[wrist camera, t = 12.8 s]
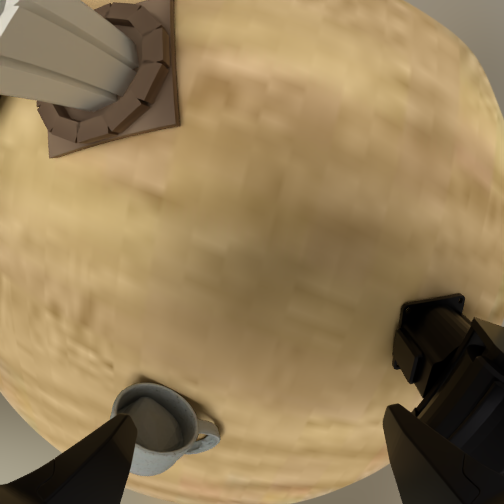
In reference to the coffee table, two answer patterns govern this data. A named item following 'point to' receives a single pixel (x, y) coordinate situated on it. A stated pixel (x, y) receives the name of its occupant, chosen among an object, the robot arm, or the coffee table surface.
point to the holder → (137, 94)
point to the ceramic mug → (162, 427)
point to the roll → (63, 54)
